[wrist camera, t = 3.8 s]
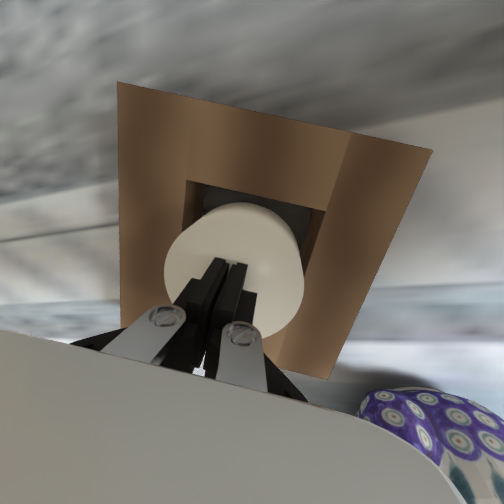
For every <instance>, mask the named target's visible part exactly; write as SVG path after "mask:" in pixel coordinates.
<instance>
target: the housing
mask: <svg viewBox="0 0 504 504" xmlns="http://www.w3.org/2000/svg"><path fill="white" fill-rule="evenodd" d="M117 99H118V170H119V241H120V313H121V329H122V328H126V327H129V326H130V325H131V324H132V323H133V322H135V321H136V320H137V319H138V318H139V317H140V316H142V315H143V314H144V313H145V312H146V311H147V310H149V309H150V308H152V307H154V306H157V305H162V304H171V305H172V302H171V300H170V298H169V296H168V293H167V290H166V286H165V280H164V266H165V260H166V257H167V254H168V252H169V250H170V247H171V246H172V244H173V243H174V241H175V240H176V239H177V237H178V236H179V235H180V234H181V233H182V232H184V231H185V230H186V229H187V228H189V227H190V226H191V225H193V224H194V223H195V222H196V221H198V220H199V219H200V218H201V217H202V209H203V201H204V193H205V185H206V184H208V185H212V186H217V187H221V188H225V189H230V190H234V191H239V192H243V193H247V194H252V195H256V196H261V197H265V198H270V199H274V200H278V201H283V202H287V203H292V204H296V205H300V206H305V207H309V208H314V209H313V212H312V215H311V218H310V222H309V225H308V228H307V231H306V235H305V238H304V241H303V244H302V248H301V251H300V259H301V265H302V271H303V276H304V294H303V298H302V302H301V304H300V307H299V309H298V311H297V313H296V314H295V316H294V317H293V318H292V320H291V321H290V322H289V323H288V324H287V325H286V326H285V327H284V328H282V329H281V330H279V331H278V332H276V333H274V334H273V335H271V336H268V337H266V338H263V339H262V344H263V352H264V353H265V354H266V356H267V357H268V358H269V359H270V360H271V361H272V362H273V363H274V364H275V365H276V366H277V367H278V368H282V369H286V370H290V371H294V372H298V373H302V374H306V375H310V376H314V377H318V378H322V379H326V380H328V378H329V375H330V373H331V371H332V369H333V367H334V365H335V362H336V360H337V358H338V356H339V354H340V352H341V349H342V347H343V345H344V343H345V341H346V339H347V336H348V334H349V332H350V330H351V328H352V326H353V323H354V321H355V319H356V317H357V315H358V312H359V310H360V308H361V306H362V304H363V302H364V299H365V297H366V295H367V293H368V291H369V289H370V286H371V284H372V282H373V280H374V278H375V276H376V273H377V271H378V269H379V267H380V265H381V263H382V260H383V258H384V256H385V254H386V252H387V249H388V247H389V245H390V243H391V241H392V239H393V236H394V234H395V232H396V230H397V228H398V226H399V223H400V221H401V219H402V217H403V215H404V213H405V210H406V208H407V206H408V204H409V202H410V200H411V197H412V195H413V193H414V191H415V189H416V186H417V184H418V182H419V180H420V178H421V176H422V173H423V171H424V169H425V167H426V165H427V163H428V160H429V158H430V156H431V154H432V152H433V150H431V149H427V148H422V147H417V146H413V145H408V144H403V143H399V142H394V141H390V140H385V139H380V138H376V137H371V136H367V135H362V134H357V133H353V132H348V131H343V130H339V129H334V128H330V127H325V126H320V125H316V124H311V123H306V122H302V121H297V120H293V119H288V118H283V117H279V116H274V115H270V114H265V113H260V112H256V111H251V110H246V109H242V108H237V107H233V106H228V105H223V104H219V103H214V102H209V101H205V100H200V99H196V98H191V97H186V96H182V95H177V94H173V93H168V92H163V91H159V90H154V89H149V88H145V87H140V86H136V85H131V84H126V83H122V82H117Z"/></svg>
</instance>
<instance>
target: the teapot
mask: <svg viewBox="0 0 504 504" xmlns="http://www.w3.org/2000/svg"><path fill="white" fill-rule="evenodd" d="M355 417H358V418H361V419H363V420H366V421H369V422H371V423H373V424H375V425H377V426H379V427H381V428H384V429H386V430H388V431H390V432H391V433H393V434H395V435H396V436H398V437H400V438H401V439H403V440H405V441H406V442H408V443H410V444H411V445H413V446H414V447H415V448H417V449H418V450H420V451H421V452H422V453H423V454H425V455H426V456H427V457H429V458H430V459H431V460H432V461H433V462H434V463H435V464H436V465H437V466H438V467H439V468H440V469H441V470H442V471H443V472H444V473H445V474H446V475H447V477H448V478H449V479H450V480H451V481H452V483H453V484H454V485H455V487H456V488H457V490H458V491H459V492H460V494H461V495H462V497H463V498H464V500H465V501H466V503H467V504H504V420H503V419H502V418H500V417H499V416H497V415H496V414H494V413H493V412H491V411H489V410H488V409H486V408H485V407H483V406H481V405H479V404H477V403H475V402H474V401H471V400H468V399H465V398H462V397H459V396H455V395H451V394H446V393H443V392H441V391H439V390H435V389H431V388H424V387H401V388H395V389H376V390H374V391H371V392H369V393H368V394H367V395H366V396H365V397H364V399H363V400H362V401H361V404H360V408H359V410H358V411H357V413H356V415H355Z"/></svg>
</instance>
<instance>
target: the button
mask: <svg viewBox="0 0 504 504" xmlns="http://www.w3.org/2000/svg"><path fill="white" fill-rule="evenodd" d="M215 257H218V258H222V259H226V263H229V269H228V273H229V271H230V269H231V266H232V264H235V265H236V264H237V262H239V263H243V264H248V268H247V272H246V277H245V281H244V286H243V290H247V291H251V292H255V293H257V300H256V306H255V312H254V318H253V326H255V327H256V328H257V329H258V330H259V331H260V333H261V336H262V339H263V338H266V337H268V336H271V335H273V334H274V333H276V332H278V331H279V330H281V329H282V328H284V327H285V326H286V325H287V324H288V323H289V322H290V321H291V320H292V318H293V317H294V316H295V314H296V313H297V311H298V309H299V307H300V304H301V302H302V298H303V294H304V276H303V271H302V265H301V259H300V254H299V248H298V243H297V241H296V238H295V236H294V234H293V232H292V230H291V229H290V227H289V226H288V224H287V223H286V222H285V221H284V220H283V219H282V218H281V217H280V216H279V215H277V214H276V213H275V212H273V211H271V210H270V209H268V208H265V207H263V206H261V205H257V204H254V203H248V202H234V203H228V204H224V205H221V206H219V207H216V208H214V209H213V210H211V211H209V212H208V213H207V214H206V215H204V216H203V217H202V218H200V219H199V220H198V221H196V222H195V223H194V224H193V225H191V226H190V227H189V228H187V229H186V230H185V231H184V232H182V233H181V234H180V235H179V236H178V237H177V239H176V240H175V241H174V243H173V244H172V246H171V247H170V250H169V252H168V254H167V257H166V260H165V266H164V280H165V286H166V290H167V293H168V296H169V298H170V300H171V302H172V304H173V303H174V301H175V300H176V299H177V297H178V296H179V295H180V293H181V292H182V290H183V289H184V288H185V286H186V285H187V283H188V282H189V281H190V279H191V278H195V279H201V278H202V276H203V275H204V273H205V272H206V270H207V268H208V267H209V265H210V264H211V262H212V261H213V259H214V258H215ZM227 276H228V275H227Z"/></svg>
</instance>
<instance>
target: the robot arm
mask: <svg viewBox="0 0 504 504" xmlns="http://www.w3.org/2000/svg"><path fill="white" fill-rule="evenodd" d="M247 268H248V264H243V263H239V262H237V264H236V265H235V264H232V266H231V269H230V271H229V273H228V269H229V263H226V259H222V258H218V257H215V258H214V259H213V261H212V262H211V264H210V265H209V267H208V268H207V270H206V272H205V273H204V275H203V276H202V278H201V279H195V278H191V279H190V281H189V282H188V283H187V285H186V286H185V288H184V289H183V290H182V292H181V293H180V295H179V296H178V297H177V299H176V300H175V301H174V303H173V304H172V305H171V304H162V305H157V306H154V307H152V308H150V309H149V310H147V311H146V312H145V313H144V314H143V315H142V316H140V317H139V318H138V319H137V320H136V321H135V322H133V323H132V324H131V325H130V326H129V327H126V328H122V329H118V330H115V331H111V332H108V333H104V334H100V335H97V336H93V337H89V338H86V339H82V340H78V341H76V342H73V343H70V344H66V343H62V342H58V341H53V340H49V339H45V338H41V337H36V336H32V335H27V334H22V333H18V332H13V331H8V330H3V329H0V504H467V503H466V501H465V500H464V498H463V497H462V495H461V494H460V492H459V491H458V490H457V488H456V487H455V485H454V484H453V483H452V481H451V480H450V479H449V478H448V477H447V475H446V474H445V473H444V472H443V471H442V470H441V469H440V468H439V467H438V466H437V465H436V464H435V463H434V462H433V461H432V460H431V459H430V458H429V457H427V456H426V455H425V454H423V453H422V452H421V451H420V450H418V449H417V448H415V447H414V446H413V445H411V444H410V443H408V442H406V441H405V440H403V439H401V438H400V437H398V436H396V435H395V434H393V433H391V432H390V431H388V430H386V429H384V428H381V427H379V426H377V425H375V424H373V423H371V422H369V421H366V420H363V419H361V418H358V417H355V416H352V415H350V414H346V413H343V412H339V411H336V410H332V409H329V408H325V407H322V406H319V405H315V404H311V403H308V401H307V400H306V398H305V397H304V395H303V394H302V393H301V392H300V391H299V390H298V389H297V388H296V387H295V386H294V385H293V384H292V382H291V381H290V380H289V379H288V378H287V377H286V376H285V375H284V374H283V373H282V372H281V371H280V370H279V368H278V367H277V366H276V365H275V364H274V363H273V362H272V361H271V360H270V359H269V358H268V357H267V356H266V354H265V353H264V352H263V344H262V336H261V333H260V331H259V330H258V329H257V328H256V327H255V326H253V318H254V312H255V306H256V300H257V293H255V292H251V291H247V290H243V286H244V281H245V277H246V272H247ZM227 275H228V276H227ZM205 352H206V353H205ZM204 354H205V359H204V365H203V369H204V370H206V371H205V376H204V377H203V376H199V375H195V374H192V373H193V370H194V368H195V367H196V368H199V367H200V365H201V362H202V360H203V357H204Z"/></svg>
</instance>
